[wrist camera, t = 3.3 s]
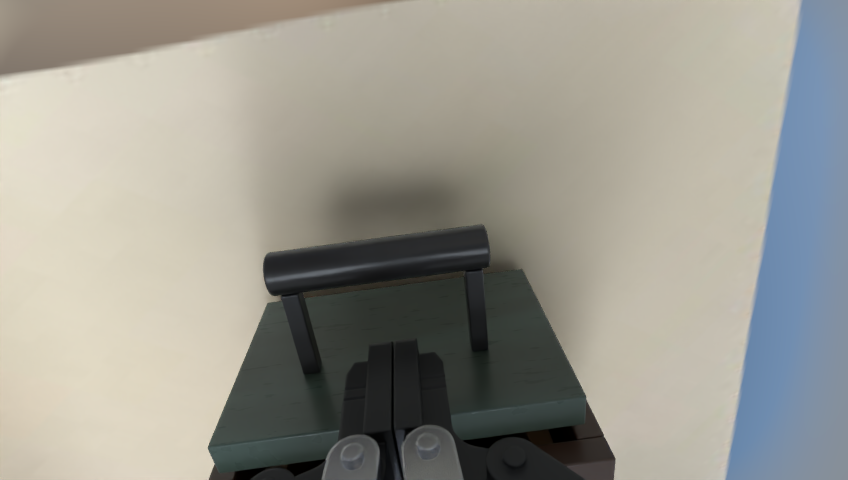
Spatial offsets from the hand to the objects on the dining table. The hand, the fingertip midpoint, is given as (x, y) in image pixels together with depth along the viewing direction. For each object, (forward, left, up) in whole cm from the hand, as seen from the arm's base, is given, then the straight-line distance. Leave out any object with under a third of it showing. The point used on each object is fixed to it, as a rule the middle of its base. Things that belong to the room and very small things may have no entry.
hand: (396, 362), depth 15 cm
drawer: (+5, 0, -7) cm, 8 cm away
